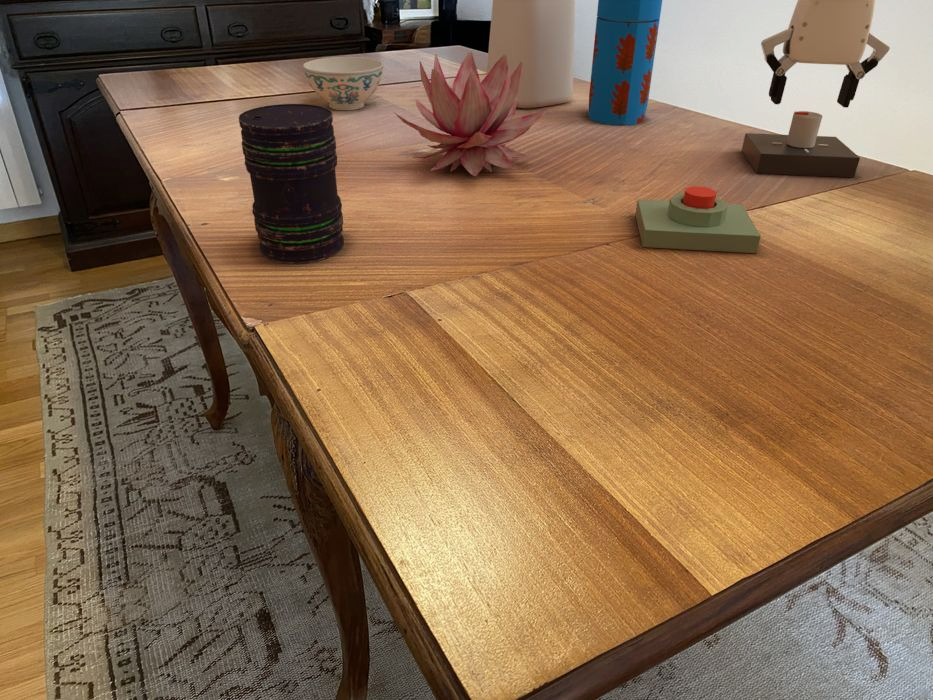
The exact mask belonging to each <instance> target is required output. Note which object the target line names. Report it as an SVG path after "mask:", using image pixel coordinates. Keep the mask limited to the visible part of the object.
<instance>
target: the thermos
mask: <svg viewBox="0 0 933 700" xmlns="http://www.w3.org/2000/svg"><path fill="white" fill-rule="evenodd" d="M662 6H663V0H598V2H597V10H596V11H597V12H596V19H595V20H596V23H595V31H594V41H593V42H594V43H593V51H592V61H591V63H592V64H591V72H590V73H591V74H590V82H589V94H588V111H587V113H588V114H587V115H588V116H587V118H588V119H589V120H591V121H593V122H596V123H599V124H604V125H611V126H634V125H638V124H641V123H643V122H644V121H645V119H646V113H647V109H648V103H649V99H650V98H649V97H650V91H651V84H652V78H653V77H652V76H653V69H654V62H655V55H656V47H657V42H658V34H659V28H660V27H659V26H660V20H661V19H660V18H661V15H662Z"/></svg>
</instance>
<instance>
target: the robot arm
mask: <svg viewBox="0 0 933 700" xmlns="http://www.w3.org/2000/svg"><path fill="white" fill-rule="evenodd" d="M875 3H876V0H797V2H796V4H795V6H794V7H795V8H794V10H793V13H792V15H791V19H790V22H789V24H788V27H787V28H786V29H784V30H782V31H780V32H778V33H775V34H773V35H771V36H769V37H767V38H764V39H763V40H761V42H760V46H761V50H762V54H763V57H764V61H765V62H766V64H767V65H768V67H769V68H770V69H771V71H772V72H773V73H772V77H771V82H770V86H769V90H768V97H769V98H770V101H771V102H772V103H773V104H774V105H780V104H781V103H782V99H783V96H784V92H785V87H786V83H787V80H788V77H787V75H786V73H787V72H788V71H789V70H791V68H792V67H794V66H795V65H796V64H797V63H798V64H815V65H838V66H839V65H840V66H845V67H846V69H847V70H848V73H847V74H845V75H844V76H843V79H842V83H841V86H840V88H839V91H838V96H837V99H836V102H837V104H839V105H840V106H841V107H842V108H849V106H850V103H851V101H854V99H855V96H856V93H857V90H858V87H859V83H860V80H863V79H864V78H865V76H866V75H867V74H868V73H870V72H871V71H873V70H874V69H875V68H876V67H877V66H878V65H879V62H880V61H882V59H884V57H885V56H886V55H887V54H888V52H889V51H890V49H891V47H890V46H889V45H888V44H887V43H885V42H884V41H882V40H880V39H879V38H878V37H876V36H875V35H874V34H873V33H870V31H871V27H872V23H873V18H874V10H875ZM782 44H783V46H782V53H783V55H782V56H781V57H780V58H779V59H778V58H777V57H776V55H775V47H777V46H779V45H782ZM867 46H869V47H870V48H872V52H871V54H870V55H869V56H868V57H867V58H865V59H864V60H862V58H863V56H864V52H865V50H866V47H867ZM861 60H862V61H861ZM860 61H861V62H860Z"/></svg>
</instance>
